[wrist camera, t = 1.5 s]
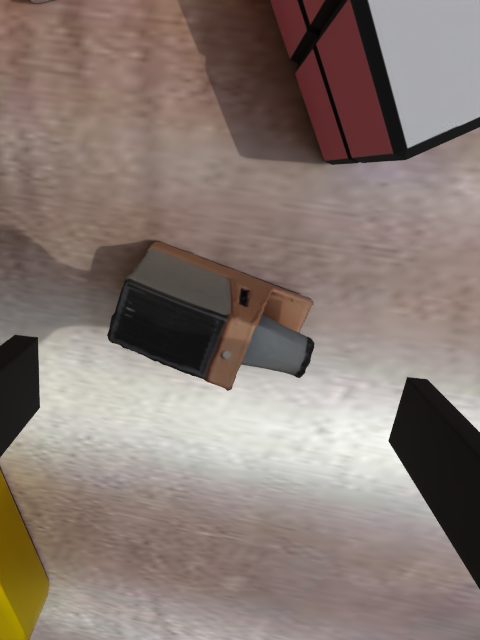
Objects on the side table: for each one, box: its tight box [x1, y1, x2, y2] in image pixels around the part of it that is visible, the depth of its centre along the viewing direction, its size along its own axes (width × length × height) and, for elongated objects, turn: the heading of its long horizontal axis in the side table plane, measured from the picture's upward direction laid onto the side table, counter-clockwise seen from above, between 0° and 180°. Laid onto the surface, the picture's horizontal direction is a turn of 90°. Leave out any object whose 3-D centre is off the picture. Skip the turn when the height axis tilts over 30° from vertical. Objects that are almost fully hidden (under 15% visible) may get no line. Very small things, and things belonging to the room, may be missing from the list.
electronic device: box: [107, 241, 314, 391], centre depth 21 cm, size 4×10×8 cm, turn 70°
